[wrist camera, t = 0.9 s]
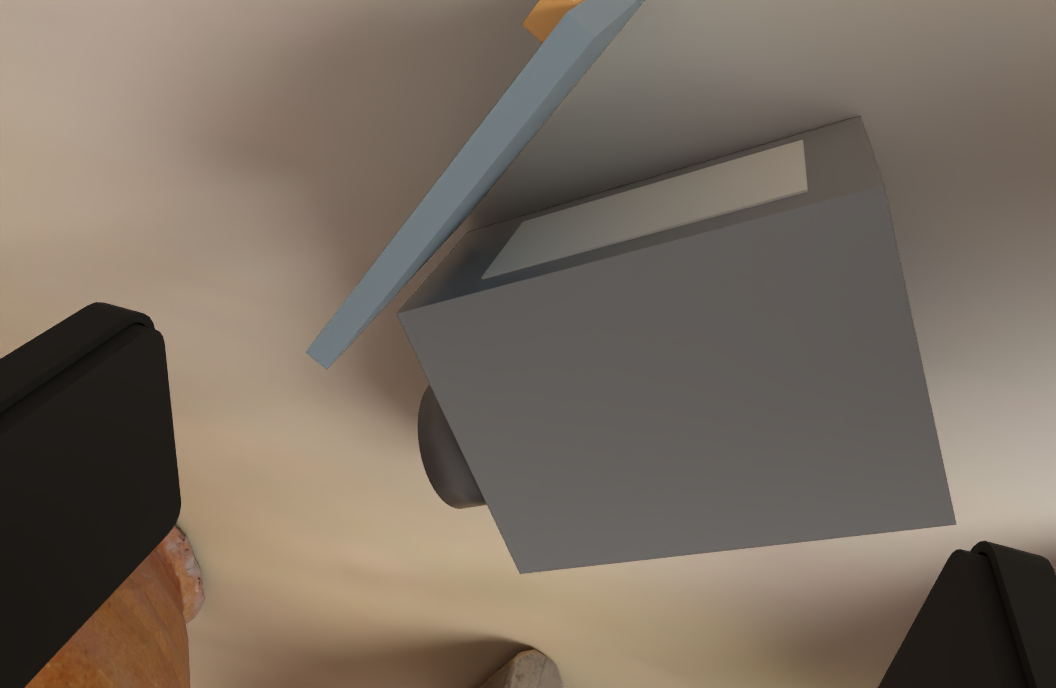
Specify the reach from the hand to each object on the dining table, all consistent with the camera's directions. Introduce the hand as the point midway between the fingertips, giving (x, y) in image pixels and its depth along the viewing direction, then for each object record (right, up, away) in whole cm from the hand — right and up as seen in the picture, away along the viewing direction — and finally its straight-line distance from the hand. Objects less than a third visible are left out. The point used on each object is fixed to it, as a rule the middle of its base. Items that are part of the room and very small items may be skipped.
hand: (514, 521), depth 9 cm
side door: (+1, +11, +23) cm, 25 cm away
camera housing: (+6, +3, +26) cm, 27 cm away
